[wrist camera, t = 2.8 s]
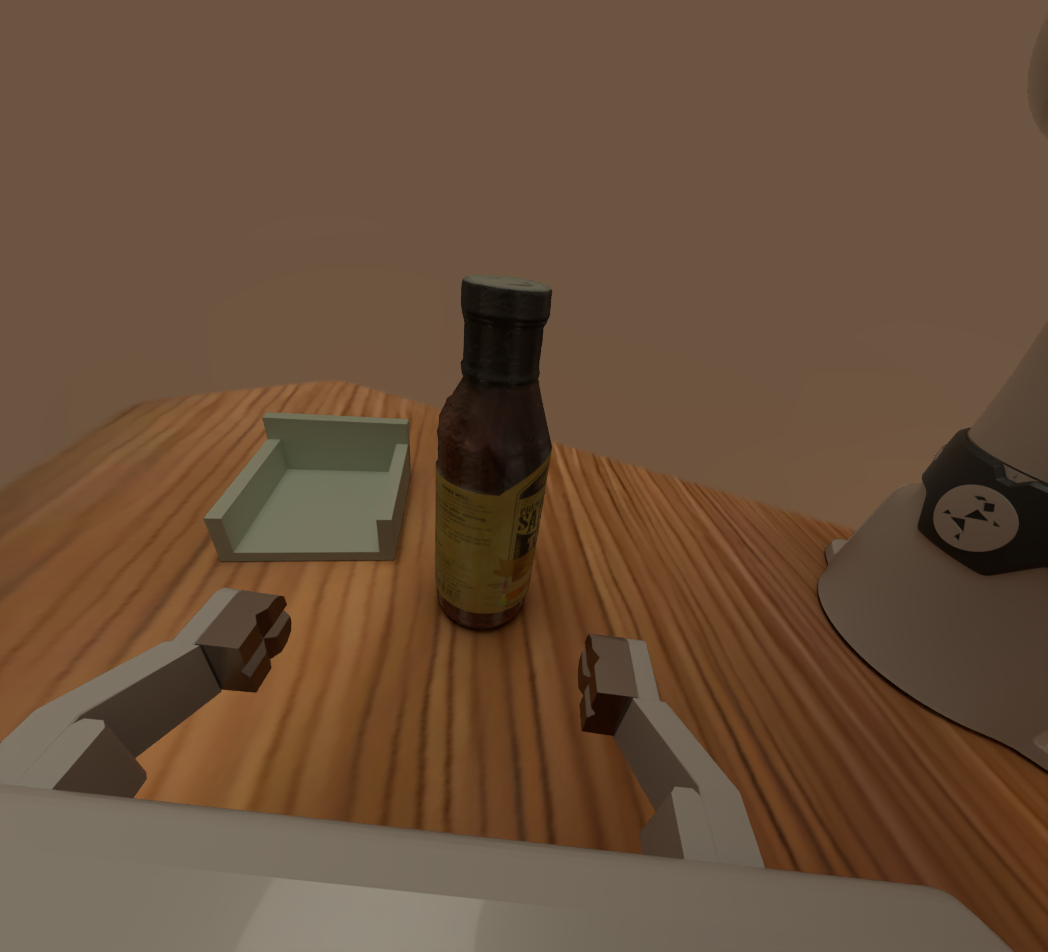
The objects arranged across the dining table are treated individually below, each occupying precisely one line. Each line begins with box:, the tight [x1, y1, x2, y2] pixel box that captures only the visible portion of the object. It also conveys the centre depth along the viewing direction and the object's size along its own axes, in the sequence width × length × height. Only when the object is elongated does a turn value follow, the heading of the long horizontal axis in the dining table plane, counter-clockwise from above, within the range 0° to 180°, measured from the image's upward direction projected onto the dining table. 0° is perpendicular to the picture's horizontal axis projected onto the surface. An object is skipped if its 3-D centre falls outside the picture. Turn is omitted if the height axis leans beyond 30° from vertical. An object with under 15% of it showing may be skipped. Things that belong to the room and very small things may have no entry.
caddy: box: [203, 412, 411, 561], centre depth 32 cm, size 12×12×6 cm
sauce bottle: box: [435, 275, 552, 629], centre depth 23 cm, size 6×6×20 cm
